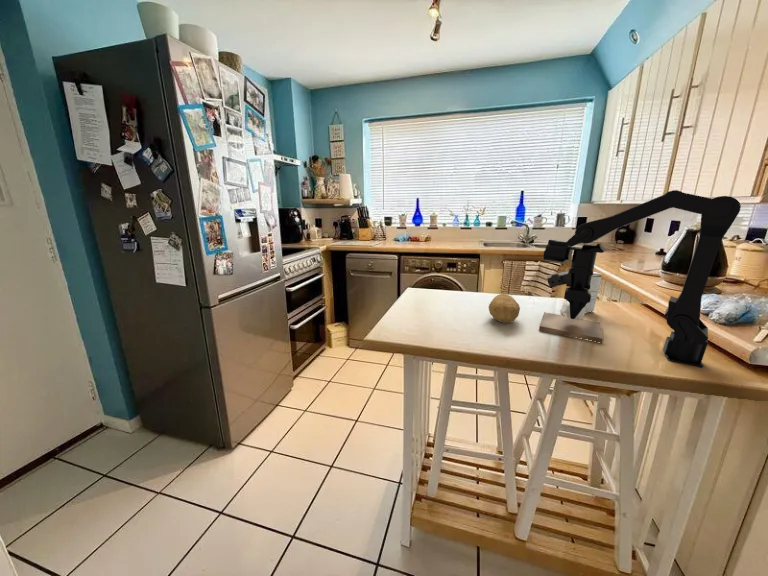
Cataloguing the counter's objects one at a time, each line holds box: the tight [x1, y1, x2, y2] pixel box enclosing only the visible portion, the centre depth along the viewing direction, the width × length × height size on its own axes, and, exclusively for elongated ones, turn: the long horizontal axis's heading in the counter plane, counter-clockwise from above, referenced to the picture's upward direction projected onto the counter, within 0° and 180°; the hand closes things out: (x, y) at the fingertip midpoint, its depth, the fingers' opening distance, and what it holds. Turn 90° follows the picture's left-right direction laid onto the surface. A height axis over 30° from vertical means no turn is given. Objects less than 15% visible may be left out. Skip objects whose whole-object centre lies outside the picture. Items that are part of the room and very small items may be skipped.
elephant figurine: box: [558, 299, 586, 321], centre depth 94 cm, size 7×8×6 cm
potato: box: [488, 293, 521, 324], centre depth 100 cm, size 10×14×8 cm
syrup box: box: [584, 271, 603, 312], centre depth 109 cm, size 6×6×14 cm
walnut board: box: [538, 311, 604, 344], centre depth 95 cm, size 16×14×2 cm
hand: (572, 315), depth 94 cm, fingers closed on elephant figurine, 6 cm apart
